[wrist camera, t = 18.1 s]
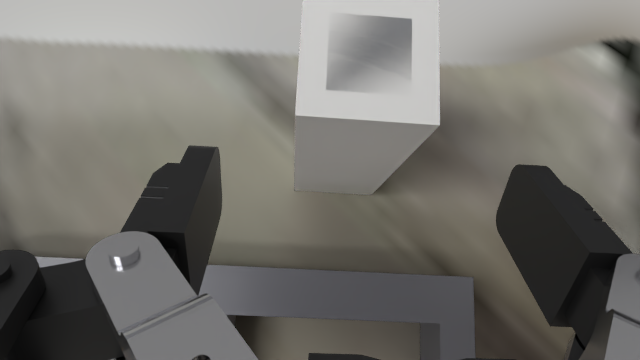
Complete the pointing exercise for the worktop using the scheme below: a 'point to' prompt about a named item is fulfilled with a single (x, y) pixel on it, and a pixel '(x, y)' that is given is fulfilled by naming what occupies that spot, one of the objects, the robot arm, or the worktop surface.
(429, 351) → the power strip
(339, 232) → the worktop surface
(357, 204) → the worktop surface
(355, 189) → the plate
